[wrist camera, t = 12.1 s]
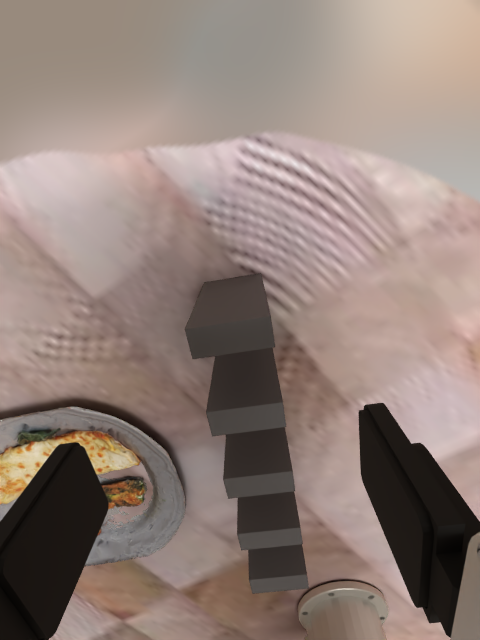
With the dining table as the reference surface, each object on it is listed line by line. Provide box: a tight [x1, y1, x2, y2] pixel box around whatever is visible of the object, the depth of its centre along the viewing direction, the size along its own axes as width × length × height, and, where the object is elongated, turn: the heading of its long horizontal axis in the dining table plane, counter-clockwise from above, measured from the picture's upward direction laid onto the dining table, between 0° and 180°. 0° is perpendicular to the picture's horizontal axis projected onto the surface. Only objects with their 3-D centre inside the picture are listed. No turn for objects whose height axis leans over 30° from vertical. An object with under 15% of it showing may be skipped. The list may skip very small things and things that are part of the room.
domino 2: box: [206, 348, 286, 436], centre depth 25 cm, size 2×5×10 cm, turn 99°
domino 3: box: [223, 427, 295, 499], centre depth 28 cm, size 2×5×10 cm, turn 99°
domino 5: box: [248, 544, 309, 594], centre depth 32 cm, size 2×5×10 cm, turn 99°
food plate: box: [0, 406, 185, 566], centre depth 36 cm, size 25×23×4 cm
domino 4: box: [237, 491, 303, 550], centre depth 30 cm, size 2×5×10 cm, turn 100°
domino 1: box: [185, 273, 275, 359], centre depth 23 cm, size 2×5×10 cm, turn 99°
